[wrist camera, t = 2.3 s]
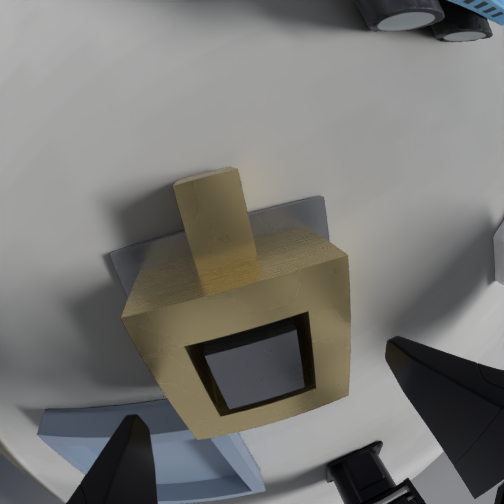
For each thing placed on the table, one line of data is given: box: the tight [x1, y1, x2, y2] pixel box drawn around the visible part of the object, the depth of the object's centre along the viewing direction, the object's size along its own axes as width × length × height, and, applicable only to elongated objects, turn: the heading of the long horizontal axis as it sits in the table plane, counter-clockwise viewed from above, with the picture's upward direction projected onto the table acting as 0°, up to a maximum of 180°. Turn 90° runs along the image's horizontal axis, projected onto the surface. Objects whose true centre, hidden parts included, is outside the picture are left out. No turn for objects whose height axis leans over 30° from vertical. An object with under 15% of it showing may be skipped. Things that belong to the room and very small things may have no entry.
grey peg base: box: [110, 196, 330, 409], centre depth 11 cm, size 9×9×4 cm
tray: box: [37, 399, 266, 504], centre depth 14 cm, size 13×13×2 cm
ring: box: [121, 167, 351, 440], centre depth 10 cm, size 10×7×4 cm
